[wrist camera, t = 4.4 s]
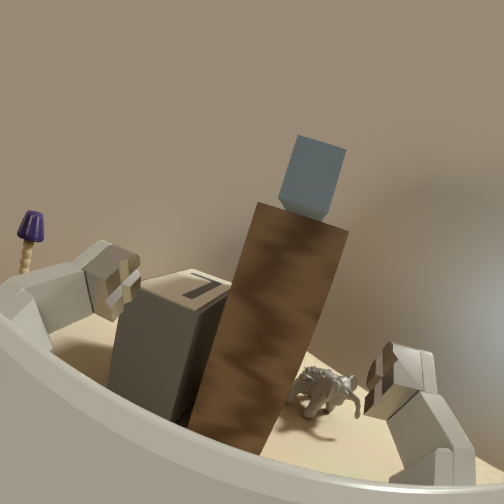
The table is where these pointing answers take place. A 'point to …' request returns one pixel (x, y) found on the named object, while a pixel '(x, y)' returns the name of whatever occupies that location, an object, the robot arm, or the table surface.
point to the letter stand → (167, 341)
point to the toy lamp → (30, 236)
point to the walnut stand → (266, 326)
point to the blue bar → (311, 178)
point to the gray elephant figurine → (324, 390)
